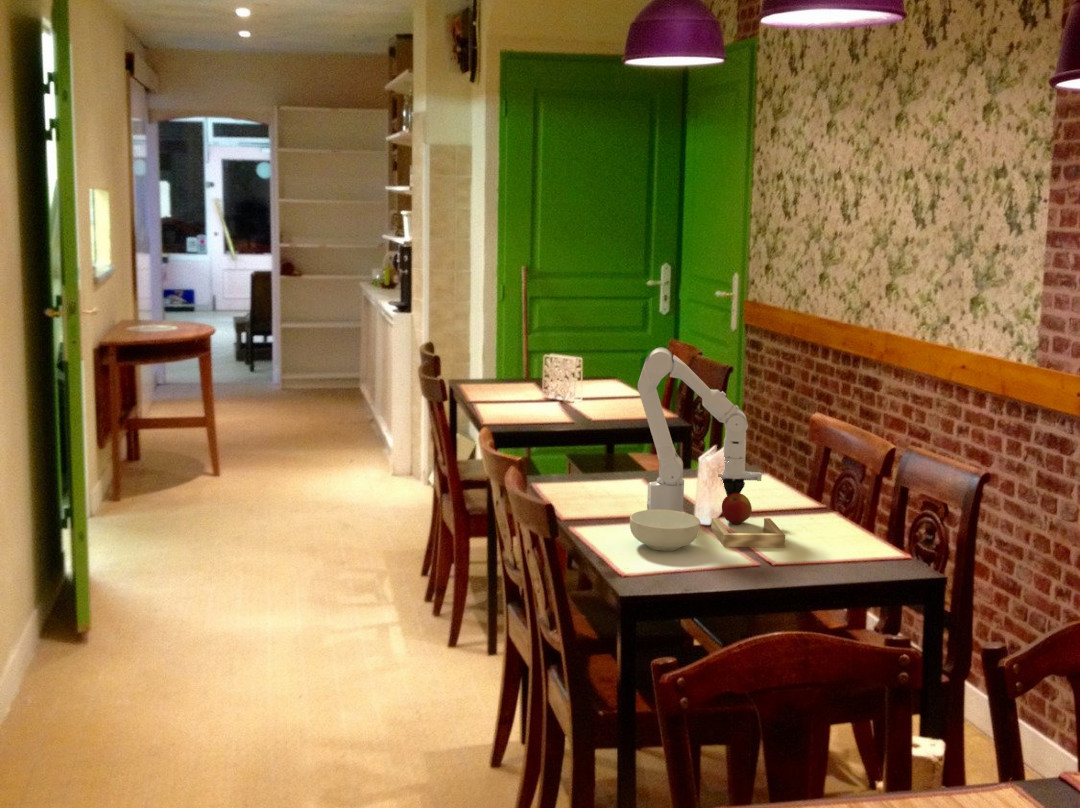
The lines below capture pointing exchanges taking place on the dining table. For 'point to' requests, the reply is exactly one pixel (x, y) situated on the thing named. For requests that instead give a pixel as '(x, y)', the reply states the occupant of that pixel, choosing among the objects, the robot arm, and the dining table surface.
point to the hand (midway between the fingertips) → (731, 507)
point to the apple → (736, 508)
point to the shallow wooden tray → (749, 536)
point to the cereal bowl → (664, 528)
